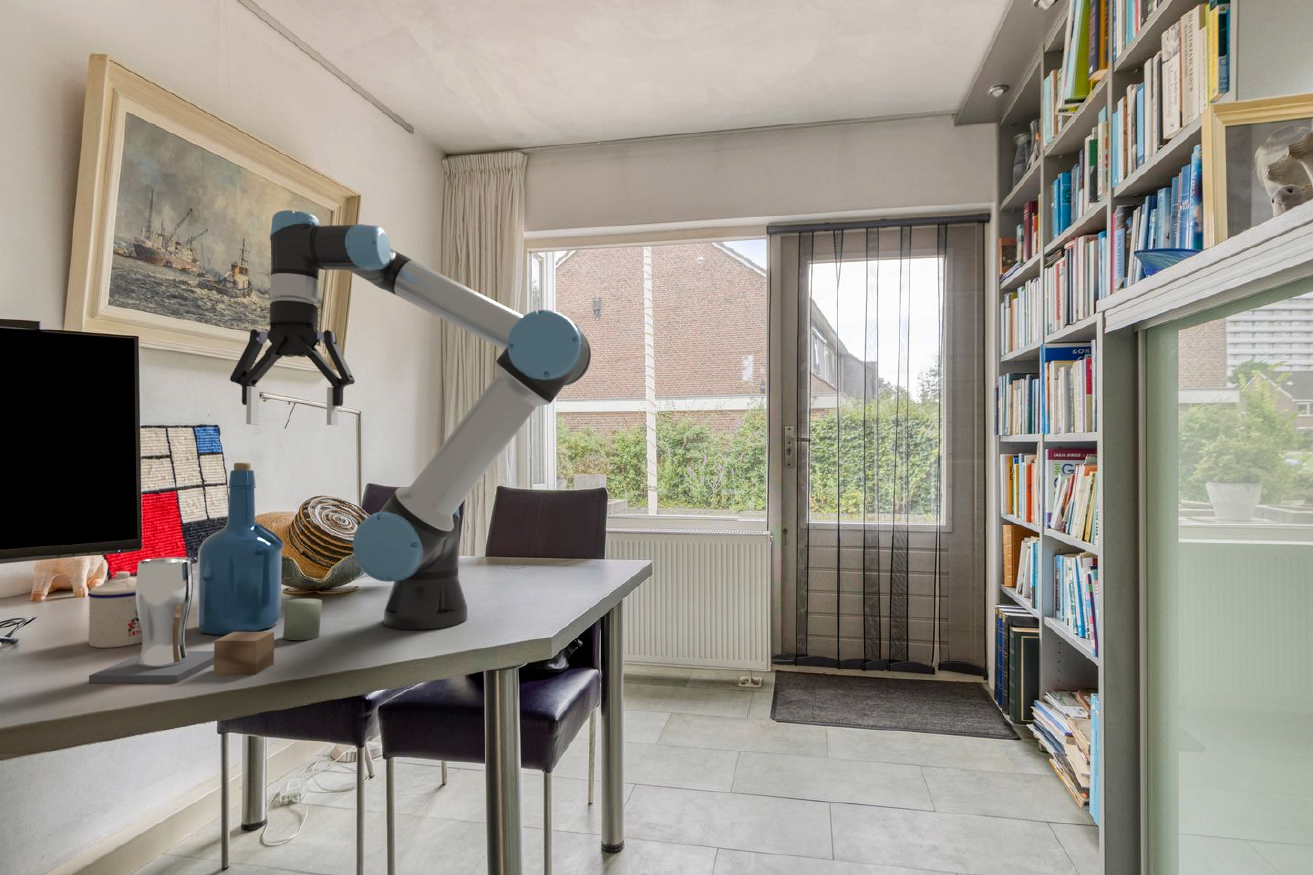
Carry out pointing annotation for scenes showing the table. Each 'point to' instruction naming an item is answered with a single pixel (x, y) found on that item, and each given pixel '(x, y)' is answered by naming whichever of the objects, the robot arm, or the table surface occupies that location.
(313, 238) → the robot arm
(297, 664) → the table surface
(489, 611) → the table surface
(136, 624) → the teacup with lid
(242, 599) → the wine bottle
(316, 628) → the pale green rounded cube
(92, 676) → the charcoal mat
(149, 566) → the beer glass
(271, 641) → the walnut block
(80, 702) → the table surface
